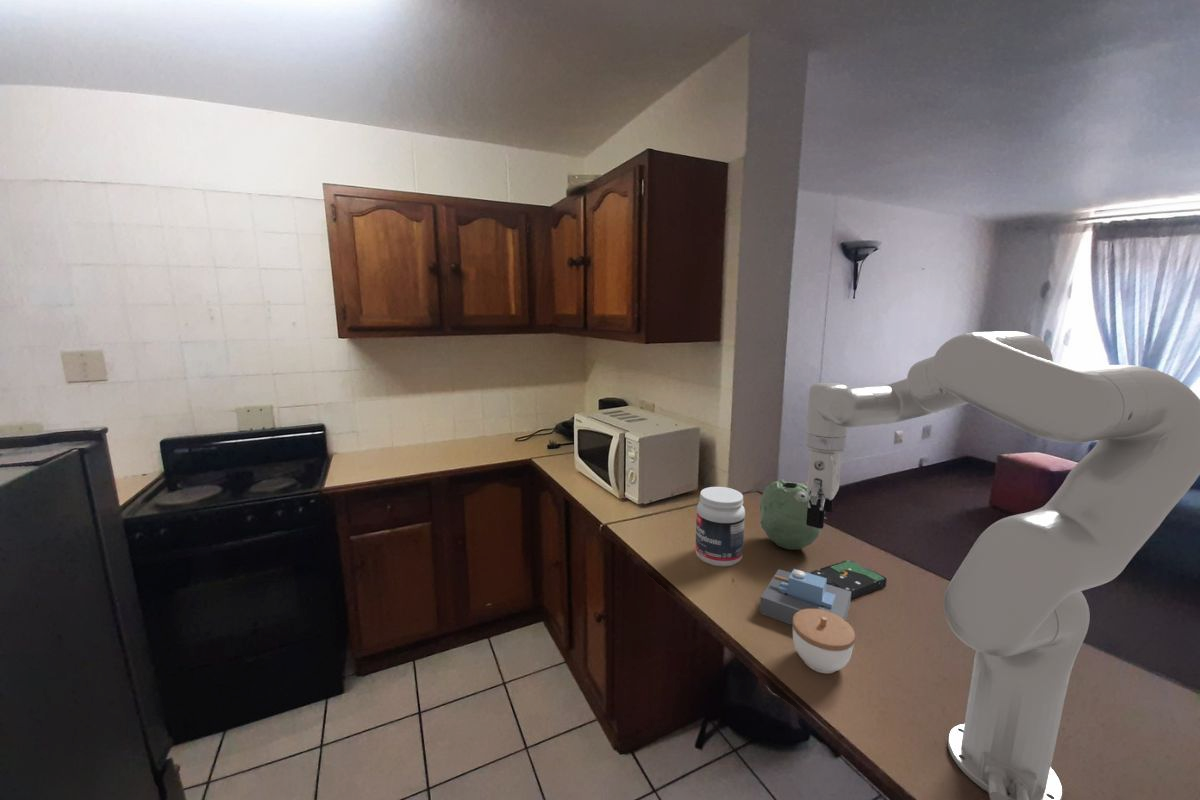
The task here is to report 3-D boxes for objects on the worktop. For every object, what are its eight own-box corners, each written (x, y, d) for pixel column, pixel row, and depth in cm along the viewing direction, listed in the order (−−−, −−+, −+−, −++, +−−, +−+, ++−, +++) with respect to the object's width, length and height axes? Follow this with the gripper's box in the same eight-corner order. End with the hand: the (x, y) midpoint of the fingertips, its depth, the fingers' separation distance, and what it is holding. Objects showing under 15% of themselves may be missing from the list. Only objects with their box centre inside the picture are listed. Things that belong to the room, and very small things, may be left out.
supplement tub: (685, 555, 127) (687, 493, 124) (712, 540, 136) (714, 481, 132) (725, 574, 118) (728, 507, 114) (751, 557, 126) (755, 494, 123)
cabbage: (773, 527, 144) (777, 466, 140) (833, 550, 129) (840, 483, 126) (743, 542, 135) (746, 477, 131) (804, 569, 120) (810, 497, 116)
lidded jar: (863, 669, 86) (868, 624, 84) (828, 692, 81) (832, 645, 79) (812, 635, 95) (816, 594, 94) (778, 654, 90) (781, 611, 88)
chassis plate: (838, 642, 93) (840, 624, 92) (759, 612, 102) (760, 596, 102) (849, 607, 104) (851, 591, 103) (777, 583, 114) (778, 569, 113)
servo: (833, 614, 102) (837, 579, 100) (830, 625, 98) (833, 588, 97) (775, 594, 109) (777, 561, 108) (770, 604, 106) (772, 570, 104)
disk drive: (845, 604, 106) (886, 587, 112) (846, 593, 106) (887, 577, 112) (808, 581, 115) (848, 567, 122) (809, 571, 115) (849, 557, 121)
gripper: (838, 454, 87) (831, 538, 90) (851, 435, 100) (845, 509, 103) (796, 448, 91) (791, 528, 94) (814, 431, 105) (809, 501, 108)
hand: (819, 518), depth 99 cm, fingers open, 9 cm apart
